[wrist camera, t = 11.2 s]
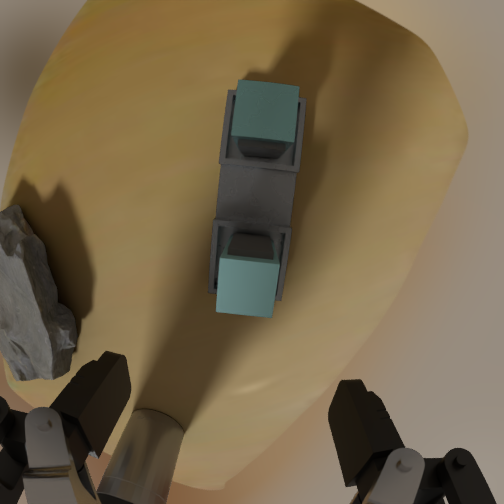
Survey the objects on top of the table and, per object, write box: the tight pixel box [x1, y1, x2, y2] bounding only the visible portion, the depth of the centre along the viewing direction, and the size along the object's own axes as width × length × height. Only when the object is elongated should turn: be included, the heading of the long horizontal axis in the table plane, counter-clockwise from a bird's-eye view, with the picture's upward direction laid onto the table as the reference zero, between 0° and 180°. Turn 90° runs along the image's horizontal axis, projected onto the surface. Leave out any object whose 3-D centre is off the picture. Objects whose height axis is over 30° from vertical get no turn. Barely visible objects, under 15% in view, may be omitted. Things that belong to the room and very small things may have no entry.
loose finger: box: [216, 233, 280, 318], centre depth 22 cm, size 4×4×8 cm
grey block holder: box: [208, 80, 306, 301], centre depth 22 cm, size 20×7×10 cm, turn 174°
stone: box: [0, 205, 78, 381], centre depth 27 cm, size 24×8×25 cm
